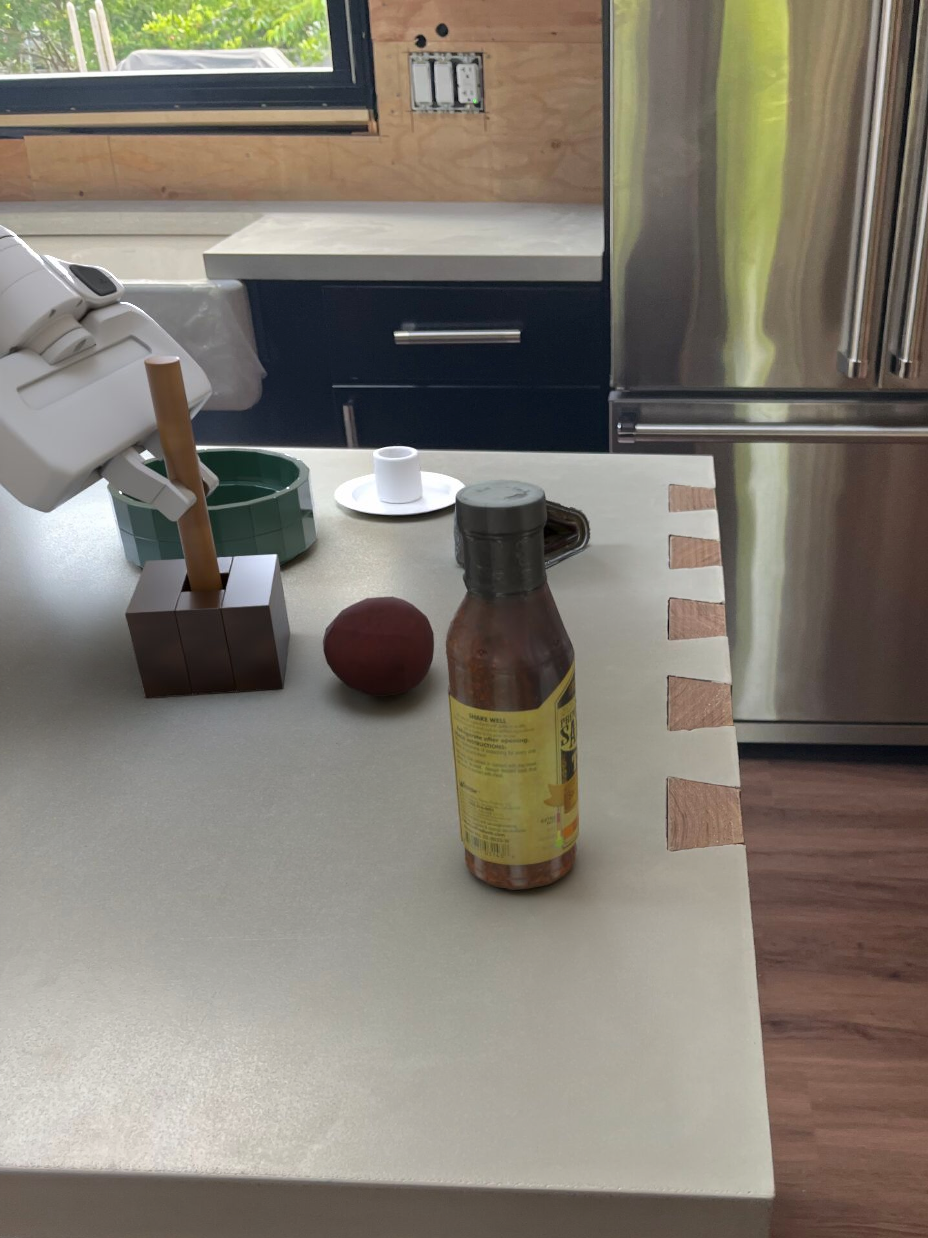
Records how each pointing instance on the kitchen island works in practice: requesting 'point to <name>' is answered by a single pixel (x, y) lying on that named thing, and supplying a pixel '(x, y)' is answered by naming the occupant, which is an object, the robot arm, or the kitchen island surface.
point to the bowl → (229, 509)
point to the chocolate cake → (550, 534)
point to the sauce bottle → (511, 694)
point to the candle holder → (398, 486)
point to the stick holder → (210, 628)
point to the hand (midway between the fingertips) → (199, 502)
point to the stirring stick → (183, 469)
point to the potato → (380, 646)
